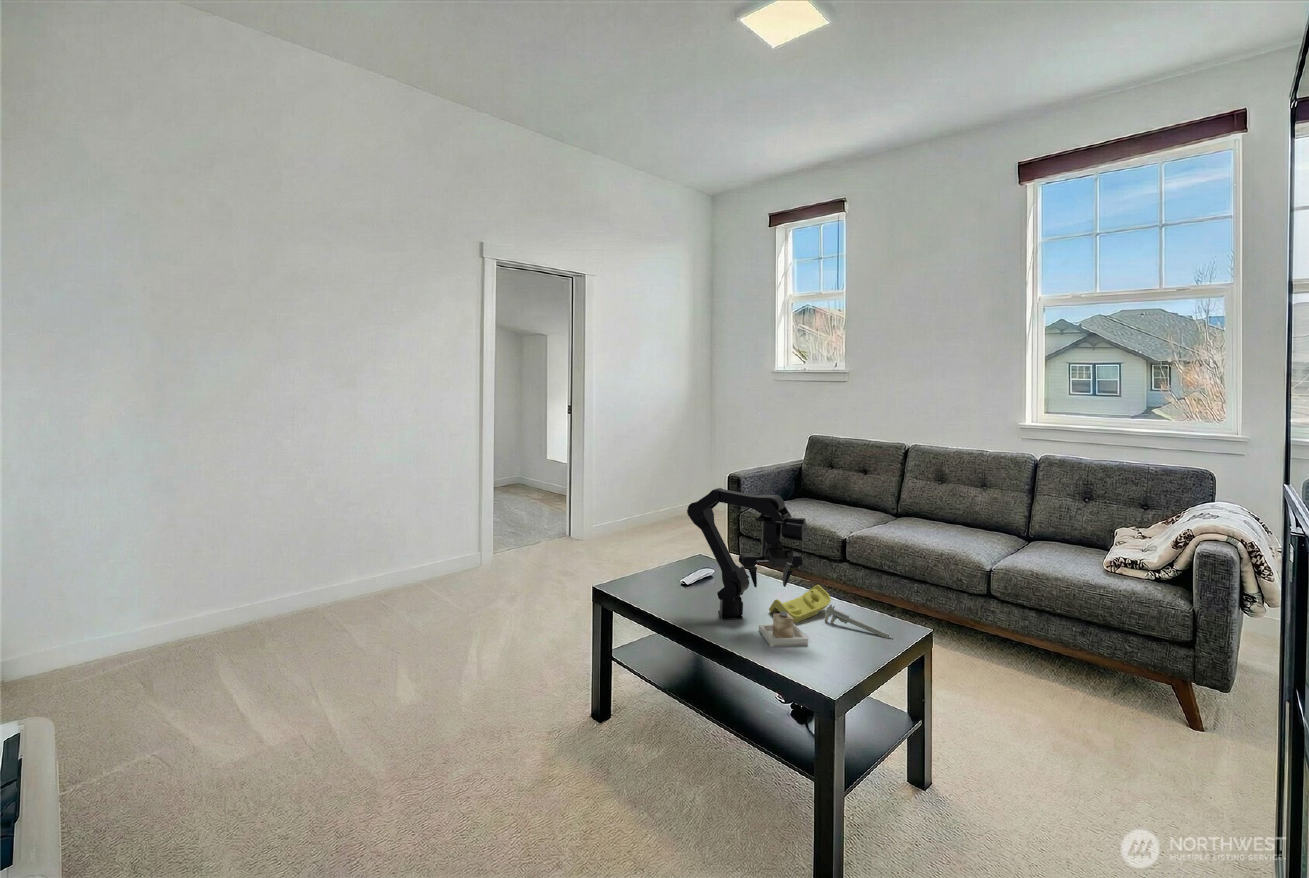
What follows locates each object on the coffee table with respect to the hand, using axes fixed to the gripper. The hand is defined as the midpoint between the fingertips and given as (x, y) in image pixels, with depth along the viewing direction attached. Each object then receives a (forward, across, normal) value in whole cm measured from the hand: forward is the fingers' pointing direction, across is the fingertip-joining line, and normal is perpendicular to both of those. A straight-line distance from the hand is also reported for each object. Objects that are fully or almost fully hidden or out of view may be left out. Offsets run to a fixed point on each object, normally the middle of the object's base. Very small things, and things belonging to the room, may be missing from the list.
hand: (769, 586), depth 183 cm
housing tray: (+12, +1, -10) cm, 16 cm away
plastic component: (+12, +14, +8) cm, 21 cm away
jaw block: (+11, +1, -10) cm, 15 cm away
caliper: (+12, +26, -6) cm, 30 cm away
